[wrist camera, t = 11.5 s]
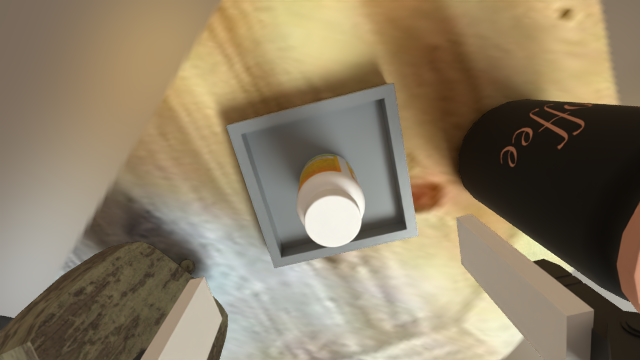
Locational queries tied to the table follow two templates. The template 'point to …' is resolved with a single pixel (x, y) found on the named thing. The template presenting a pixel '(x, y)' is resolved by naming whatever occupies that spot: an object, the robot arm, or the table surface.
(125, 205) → the table surface
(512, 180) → the coffee jar
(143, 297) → the tabletop clock
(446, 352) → the table surface
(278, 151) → the tray
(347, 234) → the supplement bottle
